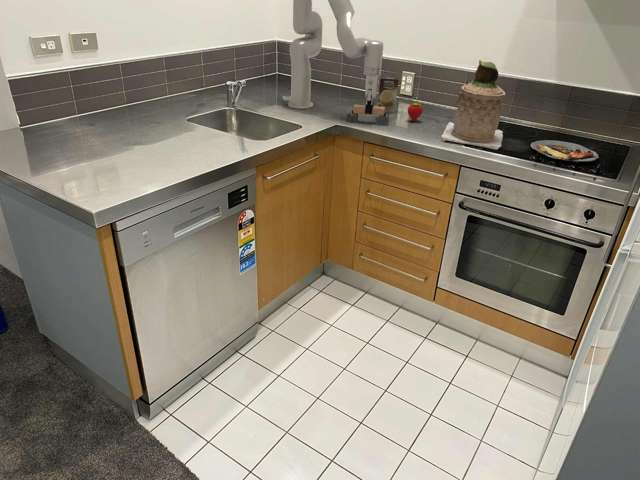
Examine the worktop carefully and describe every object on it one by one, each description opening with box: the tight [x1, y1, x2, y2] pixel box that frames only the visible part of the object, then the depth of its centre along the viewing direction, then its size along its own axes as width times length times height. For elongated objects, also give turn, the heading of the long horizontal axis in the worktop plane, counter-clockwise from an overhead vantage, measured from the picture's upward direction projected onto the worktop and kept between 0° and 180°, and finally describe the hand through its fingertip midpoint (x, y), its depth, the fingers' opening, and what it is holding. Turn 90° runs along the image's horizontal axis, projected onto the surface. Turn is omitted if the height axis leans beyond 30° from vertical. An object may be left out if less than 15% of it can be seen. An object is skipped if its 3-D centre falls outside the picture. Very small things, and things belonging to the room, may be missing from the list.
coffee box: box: [376, 75, 400, 114], centre depth 237 cm, size 9×6×16 cm
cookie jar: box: [441, 59, 507, 151], centre depth 202 cm, size 25×25×32 cm
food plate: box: [530, 139, 600, 163], centre depth 195 cm, size 25×23×4 cm
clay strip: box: [352, 104, 385, 117], centre depth 223 cm, size 4×14×3 cm, turn 80°
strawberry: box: [407, 99, 424, 122], centre depth 225 cm, size 6×8×10 cm
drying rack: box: [345, 108, 390, 127], centre depth 224 cm, size 19×10×4 cm, turn 80°
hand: (368, 111), depth 223 cm, fingers closed on clay strip, 4 cm apart
